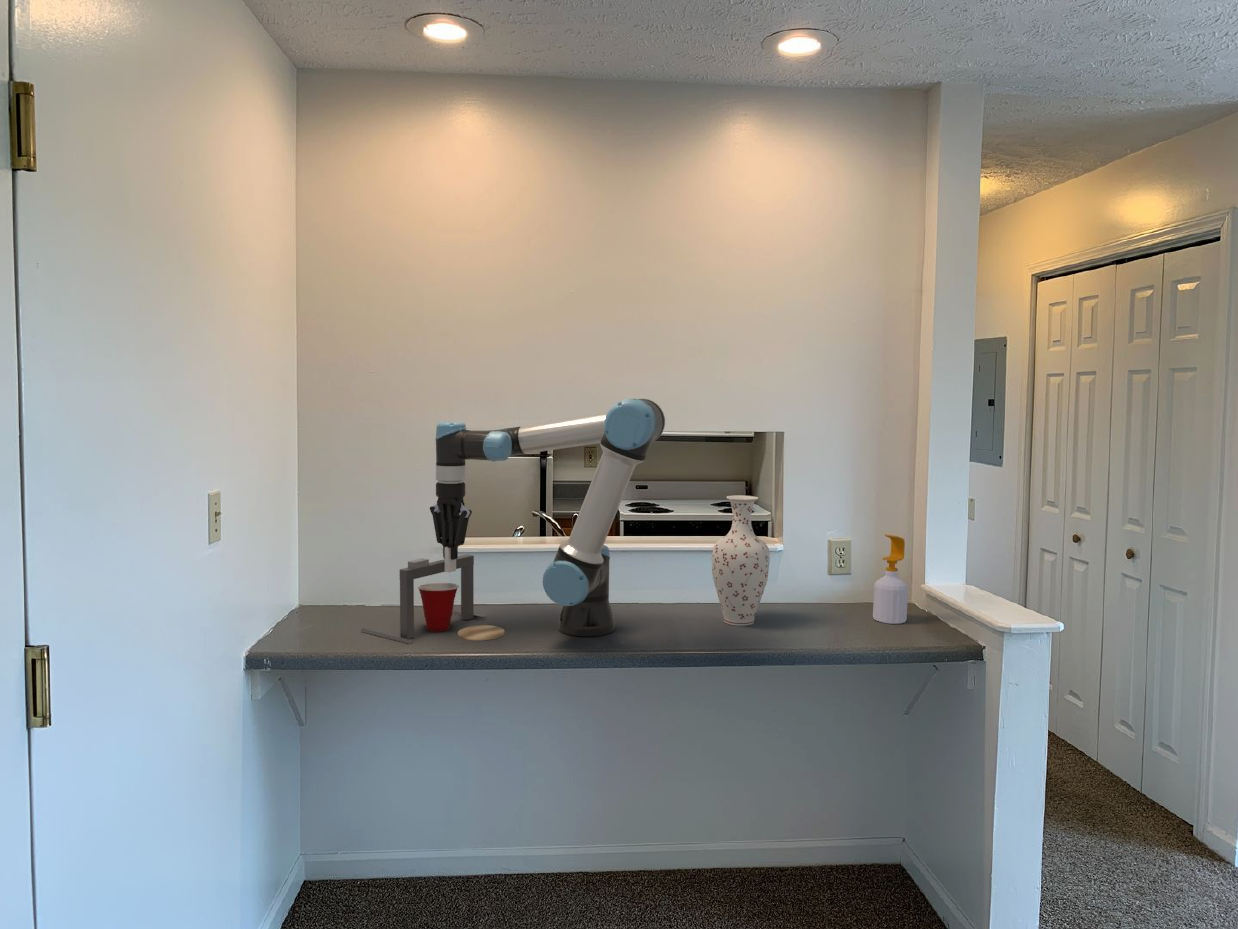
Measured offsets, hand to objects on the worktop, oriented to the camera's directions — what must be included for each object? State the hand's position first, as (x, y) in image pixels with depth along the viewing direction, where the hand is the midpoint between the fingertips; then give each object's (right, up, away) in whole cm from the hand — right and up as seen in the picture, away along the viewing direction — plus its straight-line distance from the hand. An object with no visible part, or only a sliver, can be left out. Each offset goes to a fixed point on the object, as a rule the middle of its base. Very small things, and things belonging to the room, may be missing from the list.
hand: (450, 571), depth 224 cm
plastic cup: (-4, -16, +4) cm, 17 cm away
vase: (+78, -16, +15) cm, 81 cm away
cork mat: (+8, -16, 0) cm, 18 cm away
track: (-8, -15, +7) cm, 19 cm away
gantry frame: (-4, -16, +4) cm, 17 cm away
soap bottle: (+121, -16, +19) cm, 123 cm away
